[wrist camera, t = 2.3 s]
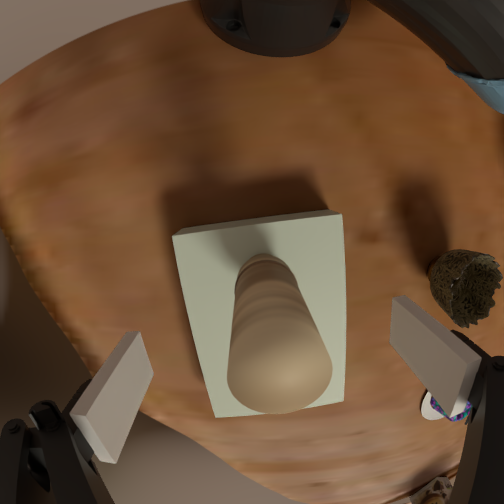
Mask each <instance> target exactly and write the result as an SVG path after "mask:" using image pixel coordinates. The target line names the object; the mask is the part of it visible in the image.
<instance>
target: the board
mask: <svg viewBox="0 0 504 504" xmlns="http://www.w3.org/2000/svg"><path fill="white" fill-rule="evenodd" d="M172 239H173V245H174V250H175V255H176V261H177V266H178V271H179V276H180V281H181V285H182V290H183V295H184V299H185V304H186V308H187V313H188V317H189V321H190V326H191V330H192V334H193V338H194V342H195V346H196V350H197V354H198V358H199V361H200V365H201V369H202V373H203V376H204V380H205V383H206V387H207V390H208V394H209V397H210V401H211V404H212V408H213V411H214V414H215V417H216V418H218V417H234V416H247V415H258V414H266V413H261V412H257V411H254V410H252V409H249V408H247V407H246V406H244V405H242V404H241V403H240V402H239V401H238V400H237V399H236V398H235V397H234V396H233V395H232V393H231V391H230V389H229V387H228V383H227V368H228V358H229V348H230V338H231V329H232V319H233V310H234V300H235V294H234V290H235V283H236V280H237V275H238V272H239V270H240V268H241V267H242V266H243V264H244V263H245V262H247V261H248V260H249V259H250V258H251V257H253V256H254V255H257V254H261V253H266V254H270V255H273V256H275V257H278V258H280V259H281V260H283V261H284V262H285V263H286V264H287V265H288V267H289V268H290V270H291V271H292V273H293V274H294V276H295V278H296V280H297V283H298V287H299V289H300V292H301V294H302V296H303V298H304V300H305V302H306V305H307V307H308V309H309V311H310V313H311V316H312V318H313V320H314V322H315V324H316V327H317V329H318V331H319V333H320V335H321V338H322V340H323V342H324V344H325V347H326V349H327V351H328V353H329V356H330V358H331V361H332V367H333V371H332V377H331V381H330V383H329V385H328V387H327V389H326V390H325V391H324V393H323V394H322V395H321V396H320V397H319V398H318V399H317V400H316V401H314V402H313V403H311V404H310V405H308V406H306V407H304V408H309V407H315V406H321V405H326V404H331V403H336V402H341V401H343V399H344V382H345V359H346V278H345V253H344V236H343V222H342V214H340V213H338V212H335V211H332V210H329V209H328V210H319V211H310V212H302V213H293V214H285V215H276V216H268V217H260V218H253V219H245V220H238V221H230V222H223V223H216V224H209V225H202V226H195V227H188V228H182V229H181V230H179V231H178V232H177V233H175V234H174V235H173V236H172ZM302 409H303V408H302Z"/></svg>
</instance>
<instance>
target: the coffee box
mask: <svg viewBox="0 0 504 504" xmlns="http://www.w3.org/2000/svg"><path fill="white" fill-rule="evenodd" d="M452 489H453V487H452V485H451V483H450V481H449V479H448V478H447V477H436V478H435V479H434V480H432V481H431V482H430V483H429V484H427V485H426V486H425V487H423V488H422V489H421V490H419V491H418V492H417V493H415V494H414V495H412V496H411V497H410V500H411V503H412V504H448V501H449V498H450V495H451V492H452Z"/></svg>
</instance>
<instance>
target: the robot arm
mask: <svg viewBox="0 0 504 504" xmlns="http://www.w3.org/2000/svg"><path fill="white" fill-rule="evenodd" d="M367 1H369V2H370V3H372V4H373V5H375V6H376V7H378V8H379V9H381V10H382V11H384V12H385V13H387V14H388V15H390V16H391V17H392V18H394V19H395V20H396V21H398V22H399V23H401V24H402V25H403V26H405V27H406V28H407V29H408V30H410V31H411V32H412V33H413V34H415V35H416V36H417V37H418V38H420V39H421V40H422V41H423V42H424V43H425V44H426V45H428V46H429V47H430V48H431V49H432V50H433V51H434V52H435V53H436V54H437V55H439V56H440V57H441V58H442V59H443V60H444V61H445V63H446V65H447V68H448V69H449V70H450V71H451V72H452V73H453V74H454V75H456V76H457V77H459V78H462V79H463V80H464V81H465V82H466V83H467V84H468V85H469V86H470V87H471V88H472V89H473V90H474V91H475V92H476V94H477V95H478V96H479V97H480V98H481V99H482V100H483V101H484V102H485V103H486V104H488V105H489V106H490V107H491V108H493V109H494V110H496V111H498V112H500V113H502V114H504V0H367ZM200 5H201V9H202V12H203V16H204V18H205V21H206V23H207V24H208V26H209V27H210V28H211V30H212V31H213V32H214V33H215V34H216V35H217V36H218V37H220V38H221V39H222V40H224V41H225V42H227V43H228V44H230V45H232V46H234V47H236V48H238V49H241V50H244V51H246V52H250V53H253V54H257V55H263V56H270V57H293V56H300V55H305V54H309V53H312V52H315V51H317V50H319V49H321V48H323V47H325V46H327V45H328V44H330V43H331V42H332V41H333V40H334V39H335V38H336V37H337V36H338V35H339V33H340V32H341V30H342V29H343V27H344V26H345V24H346V22H347V20H348V18H349V14H350V9H351V0H200ZM389 343H390V344H391V345H392V347H393V348H394V349H395V350H396V351H397V353H398V354H399V355H400V356H401V357H402V359H403V360H404V361H405V362H406V364H407V365H408V366H409V367H410V368H411V370H412V371H413V372H414V373H415V375H416V376H417V377H418V378H419V380H420V381H421V382H422V383H423V385H424V386H425V387H426V388H427V390H428V391H429V392H430V393H431V395H432V396H433V397H434V399H435V400H436V401H437V402H438V404H439V405H440V406H441V408H442V409H443V410H444V412H445V413H446V414H447V415H448V417H449V418H451V417H453V416H455V415H457V414H460V413H462V412H464V409H465V407H466V404H467V401H469V403H470V404H471V405H472V408H471V410H470V413H469V415H468V417H467V420H466V422H465V425H467V423H468V426H467V432H466V437H465V442H464V447H463V452H462V456H461V460H460V464H459V468H458V472H457V475H456V479H455V482H454V486H453V489H452V492H451V495H450V498H449V501H448V504H504V356H494V357H491V356H490V355H488V354H487V353H486V352H485V351H483V350H482V349H481V348H480V347H479V346H477V345H476V344H474V342H472V341H471V340H469V338H468V337H466V336H465V335H464V334H463V333H460V332H458V331H455V330H451V331H449V330H448V329H447V328H446V327H444V326H443V325H442V324H441V323H440V322H438V321H437V320H436V319H435V318H433V317H432V316H431V315H430V314H428V313H427V312H426V311H424V310H423V309H422V308H421V307H419V306H418V305H417V304H416V303H414V302H413V301H412V300H410V299H409V298H408V297H406V296H405V295H402V296H398V297H393V298H392V314H391V329H390V340H389ZM153 375H154V373H153V370H152V367H151V364H150V361H149V359H148V356H147V353H146V349H145V346H144V343H143V340H142V337H141V334H140V331H133V332H126V334H125V335H124V336H123V338H122V339H121V341H120V342H119V343H118V345H117V346H116V347H115V349H114V350H113V351H112V353H111V354H110V356H109V357H108V358H107V360H106V361H105V363H104V364H103V365H102V367H101V368H100V370H99V371H98V372H97V374H96V375H95V377H94V378H93V379H89V380H87V381H86V382H85V383H83V384H82V385H81V386H80V388H79V389H78V390H77V392H76V394H74V396H73V398H72V399H71V400H70V401H69V403H68V404H67V406H66V407H65V409H64V410H63V411H62V413H61V412H60V411H59V409H58V407H57V405H56V404H55V402H53V401H51V400H44V401H40V402H38V403H36V404H35V405H33V406H32V407H31V409H30V410H29V416H30V418H31V419H32V421H33V422H34V424H35V425H36V427H35V428H28V427H27V425H26V424H25V422H24V421H23V420H21V419H12V420H10V421H8V422H7V423H6V424H5V425H4V427H3V429H2V432H1V436H0V504H115V503H114V501H113V499H112V498H111V496H110V494H109V492H108V490H107V488H106V486H105V484H104V482H103V481H102V478H101V477H100V474H99V472H98V470H97V468H96V466H95V463H94V462H93V461H92V459H91V457H92V455H93V453H95V454H96V456H97V457H98V458H99V460H100V461H103V462H109V463H115V464H116V462H117V460H118V457H119V455H120V452H121V450H122V448H123V445H124V443H125V440H126V438H127V435H128V433H129V431H130V428H131V426H132V423H133V421H134V419H135V416H136V414H137V411H138V409H139V407H140V405H141V402H142V400H143V398H144V395H145V393H146V391H147V388H148V386H149V384H150V382H151V379H152V377H153Z"/></svg>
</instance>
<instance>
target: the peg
mask: <svg viewBox="0 0 504 504" xmlns="http://www.w3.org/2000/svg"><path fill="white" fill-rule="evenodd" d="M234 294H235V300H234V310H233V319H232V329H231V338H230V348H229V358H228V368H227V383H228V387H229V389H230V391H231V393H232V395H233V396H234V397H235V398H236V399H237V400H238V401H239V402H240V403H241V404H242V405H244V406H246V407H247V408H249V409H252V410H254V411H257V412H261V413H266V414H284V413H290V412H294V411H297V410H300V409H302V408H304V407H306V406H308V405H310V404H311V403H313V402H314V401H316V400H317V399H318V398H319V397H320V396H321V395H322V394H323V393H324V391H325V390H326V389H327V387H328V385H329V383H330V381H331V377H332V371H333V367H332V361H331V358H330V356H329V353H328V351H327V349H326V347H325V344H324V342H323V340H322V338H321V335H320V333H319V331H318V329H317V327H316V324H315V322H314V320H313V318H312V316H311V313H310V311H309V309H308V307H307V305H306V302H305V300H304V298H303V296H302V294H301V292H300V289H299V287H298V283H297V280H296V278H295V276H294V274H293V273H292V271H291V270H290V268H289V267H288V265H287V264H286V263H285V262H284V261H283V260H281V259H280V258H278V257H275V256H273V255H270V254H266V253H261V254H257V255H254V256H253V257H251V258H250V259H249V260H248V261H247V262H245V263H244V264H243V266H242V267H241V268H240V270H239V272H238V275H237V280H236V283H235V290H234Z"/></svg>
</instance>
